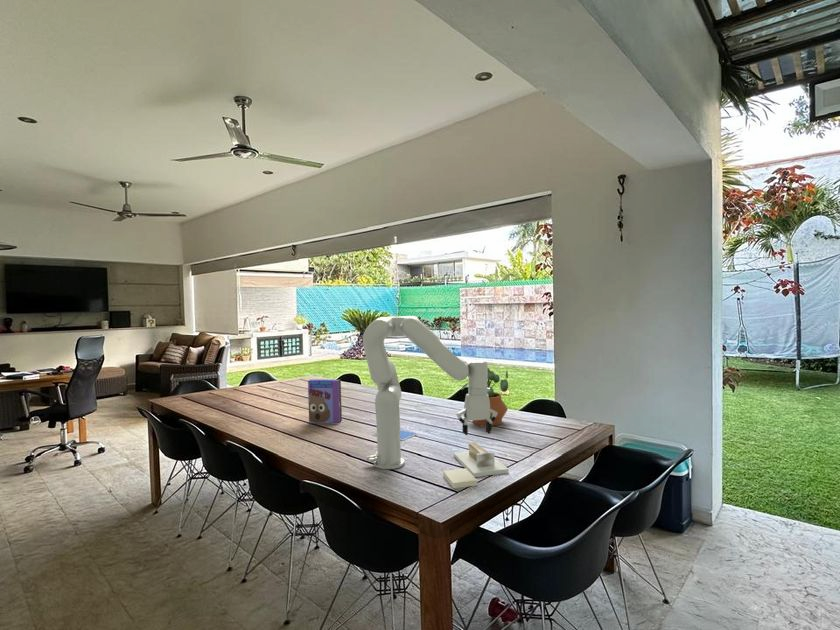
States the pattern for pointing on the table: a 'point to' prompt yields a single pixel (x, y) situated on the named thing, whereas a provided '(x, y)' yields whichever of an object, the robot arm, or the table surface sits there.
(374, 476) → the table surface
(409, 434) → the tablet computer
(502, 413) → the potted plant
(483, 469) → the white rectangular board
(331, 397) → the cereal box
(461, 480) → the tile
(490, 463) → the beige upright post
